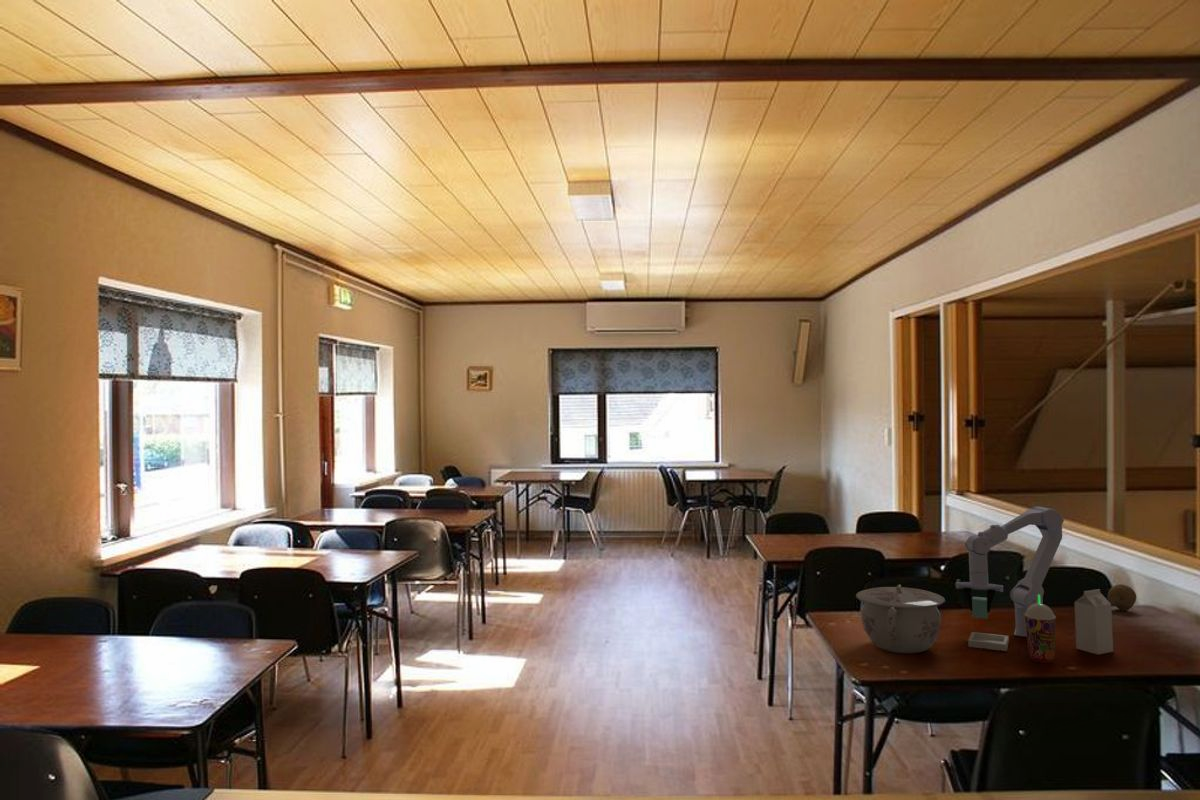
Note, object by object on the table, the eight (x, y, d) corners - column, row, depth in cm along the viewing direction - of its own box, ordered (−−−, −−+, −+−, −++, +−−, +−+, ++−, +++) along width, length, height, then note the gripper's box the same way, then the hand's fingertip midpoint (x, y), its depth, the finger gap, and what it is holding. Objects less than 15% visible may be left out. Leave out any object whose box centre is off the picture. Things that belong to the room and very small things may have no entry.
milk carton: (1076, 649, 246) (1073, 589, 246) (1092, 646, 248) (1089, 587, 249) (1097, 655, 239) (1094, 593, 240) (1113, 652, 242) (1110, 591, 242)
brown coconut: (1123, 615, 284) (1122, 587, 285) (1102, 609, 293) (1100, 583, 293) (1142, 612, 287) (1141, 585, 287) (1121, 607, 295) (1120, 581, 295)
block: (988, 615, 264) (987, 597, 264) (987, 618, 260) (986, 600, 260) (973, 614, 266) (972, 596, 267) (972, 617, 262) (971, 599, 263)
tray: (1008, 642, 255) (1008, 635, 255) (1006, 651, 246) (1006, 644, 246) (972, 638, 261) (971, 631, 261) (968, 646, 251) (968, 640, 252)
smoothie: (1042, 666, 231) (1039, 598, 231) (1020, 658, 239) (1017, 593, 239) (1064, 662, 233) (1061, 596, 234) (1041, 655, 241) (1038, 590, 242)
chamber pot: (904, 632, 270) (901, 573, 271) (967, 653, 245) (964, 588, 245) (838, 642, 260) (836, 581, 261) (897, 666, 235) (894, 597, 235)
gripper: (1003, 570, 264) (1004, 610, 263) (956, 567, 271) (958, 606, 270) (1002, 574, 257) (1003, 615, 257) (954, 571, 265) (956, 611, 264)
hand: (980, 611), depth 263 cm, fingers closed on block, 4 cm apart
